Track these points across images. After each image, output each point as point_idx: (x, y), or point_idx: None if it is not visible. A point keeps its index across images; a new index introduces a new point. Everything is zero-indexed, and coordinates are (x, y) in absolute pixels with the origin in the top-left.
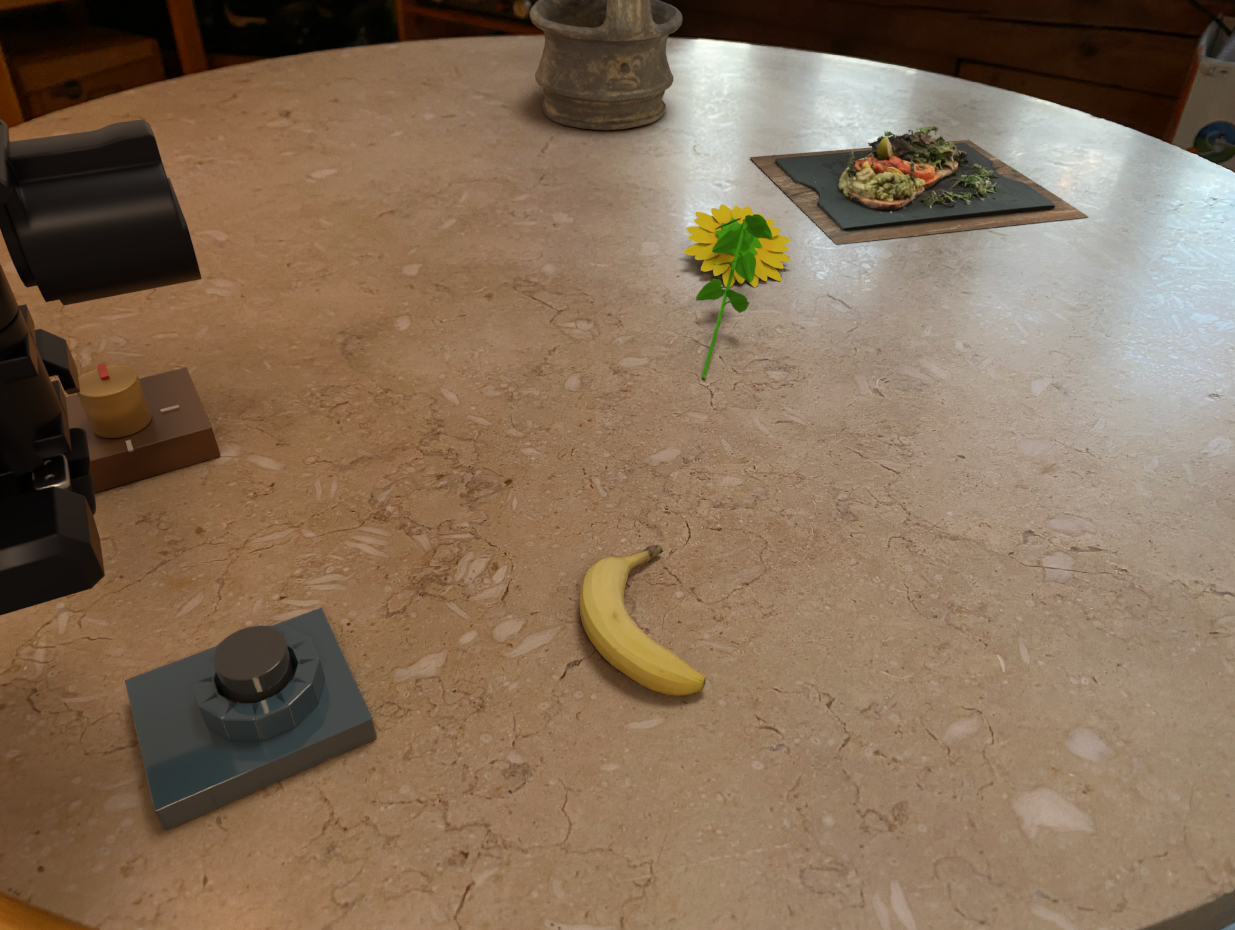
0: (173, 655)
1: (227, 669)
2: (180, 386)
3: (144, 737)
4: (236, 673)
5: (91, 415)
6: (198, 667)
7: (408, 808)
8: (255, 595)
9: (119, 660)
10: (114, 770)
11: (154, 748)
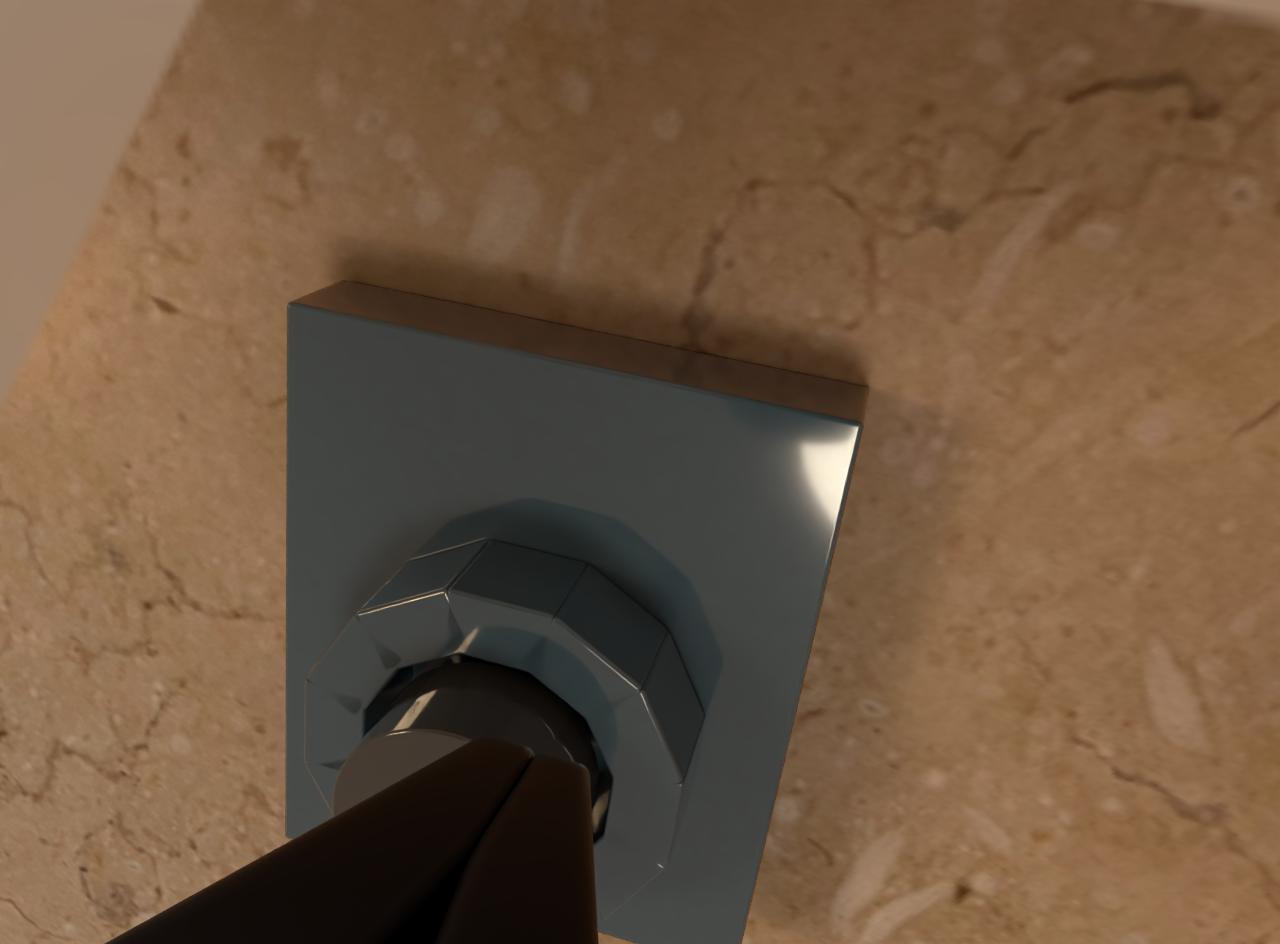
0: (976, 557)
1: (409, 756)
2: None
3: (566, 381)
4: (377, 766)
5: None
6: (609, 660)
7: (134, 721)
8: (1039, 849)
9: (1100, 414)
10: (630, 235)
11: (501, 389)
